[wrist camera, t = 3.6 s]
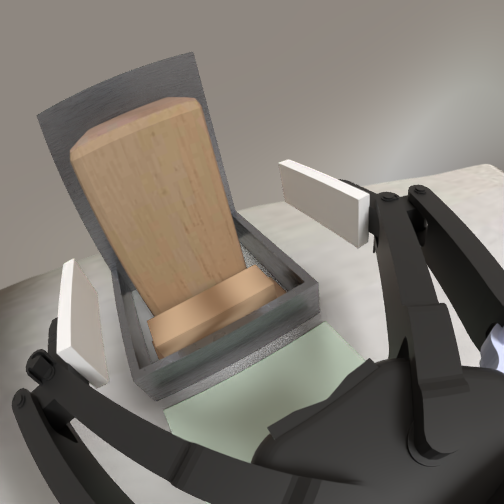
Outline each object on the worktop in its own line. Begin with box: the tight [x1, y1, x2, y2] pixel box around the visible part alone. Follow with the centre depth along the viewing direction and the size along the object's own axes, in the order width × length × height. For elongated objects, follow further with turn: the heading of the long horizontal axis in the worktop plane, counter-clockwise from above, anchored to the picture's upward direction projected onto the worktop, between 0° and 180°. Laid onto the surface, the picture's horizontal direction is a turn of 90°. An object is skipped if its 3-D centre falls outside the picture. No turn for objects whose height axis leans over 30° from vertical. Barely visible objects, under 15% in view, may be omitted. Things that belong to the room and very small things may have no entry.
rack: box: [37, 52, 320, 401], centre depth 23 cm, size 17×17×24 cm
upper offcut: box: [147, 265, 277, 358], centre depth 24 cm, size 11×3×2 cm, turn 119°
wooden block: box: [70, 97, 247, 317], centre depth 26 cm, size 10×10×20 cm
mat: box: [163, 321, 365, 504], centre depth 19 cm, size 16×10×1 cm, turn 119°
